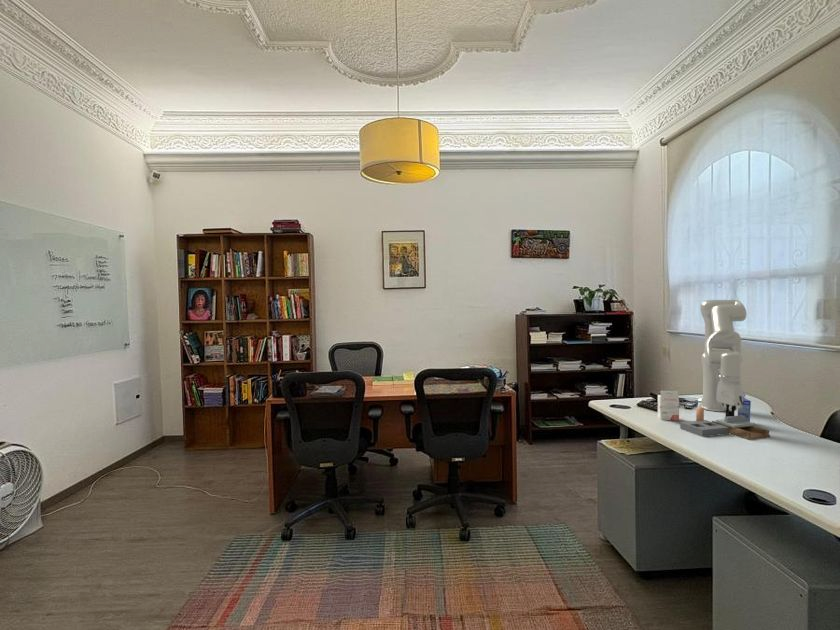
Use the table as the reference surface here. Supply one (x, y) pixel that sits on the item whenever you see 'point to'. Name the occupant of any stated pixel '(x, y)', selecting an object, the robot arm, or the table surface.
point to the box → (747, 431)
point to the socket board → (704, 428)
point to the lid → (735, 421)
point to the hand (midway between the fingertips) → (729, 418)
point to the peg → (699, 414)
